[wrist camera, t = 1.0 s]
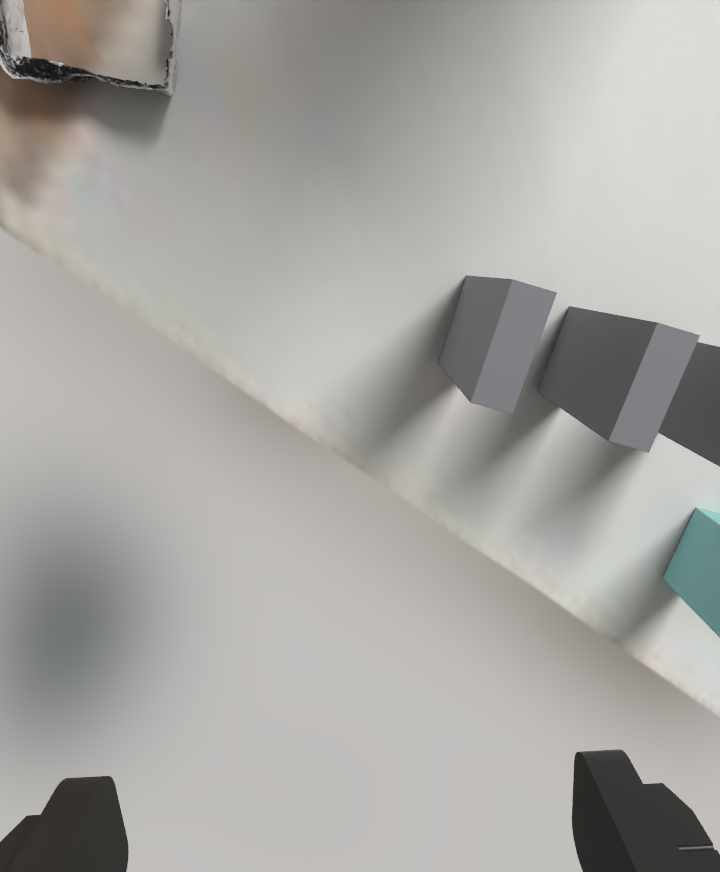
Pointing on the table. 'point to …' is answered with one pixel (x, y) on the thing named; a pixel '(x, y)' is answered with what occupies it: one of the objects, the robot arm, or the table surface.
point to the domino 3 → (697, 405)
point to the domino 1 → (494, 339)
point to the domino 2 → (616, 373)
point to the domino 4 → (699, 567)
